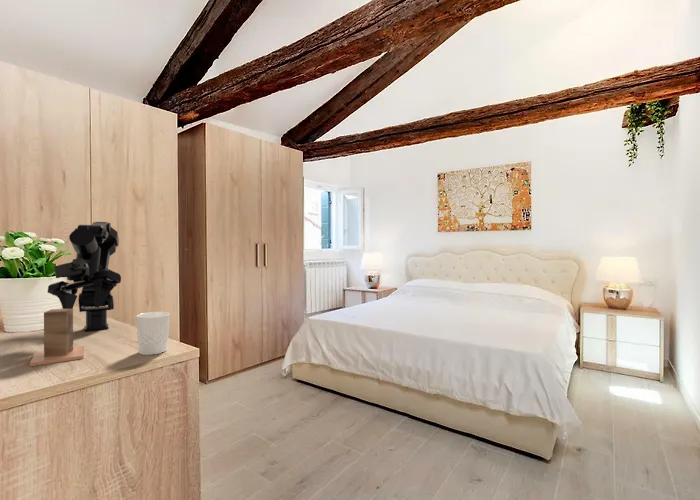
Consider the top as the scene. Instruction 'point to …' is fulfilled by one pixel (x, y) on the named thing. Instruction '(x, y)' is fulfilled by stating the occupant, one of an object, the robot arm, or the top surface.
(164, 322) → the white cup
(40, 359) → the terracotta tile
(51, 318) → the walnut block
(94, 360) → the top surface
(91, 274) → the robot arm
